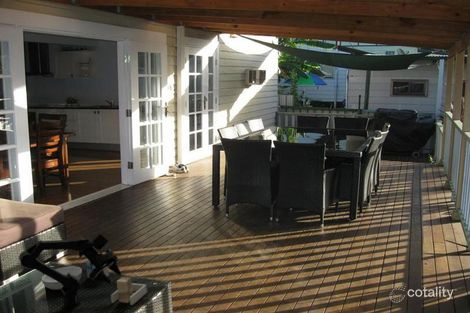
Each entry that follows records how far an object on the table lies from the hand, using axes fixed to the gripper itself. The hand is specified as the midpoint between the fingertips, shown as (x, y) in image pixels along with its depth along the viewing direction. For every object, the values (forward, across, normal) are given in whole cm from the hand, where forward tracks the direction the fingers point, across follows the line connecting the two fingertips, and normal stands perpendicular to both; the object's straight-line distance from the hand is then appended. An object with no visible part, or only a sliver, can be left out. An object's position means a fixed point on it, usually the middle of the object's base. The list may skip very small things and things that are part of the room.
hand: (115, 278), depth 233 cm
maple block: (+11, 0, +4) cm, 12 cm away
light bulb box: (-11, +23, +27) cm, 37 cm away
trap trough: (+11, +3, +4) cm, 12 cm away
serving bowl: (-21, +10, +37) cm, 44 cm away
